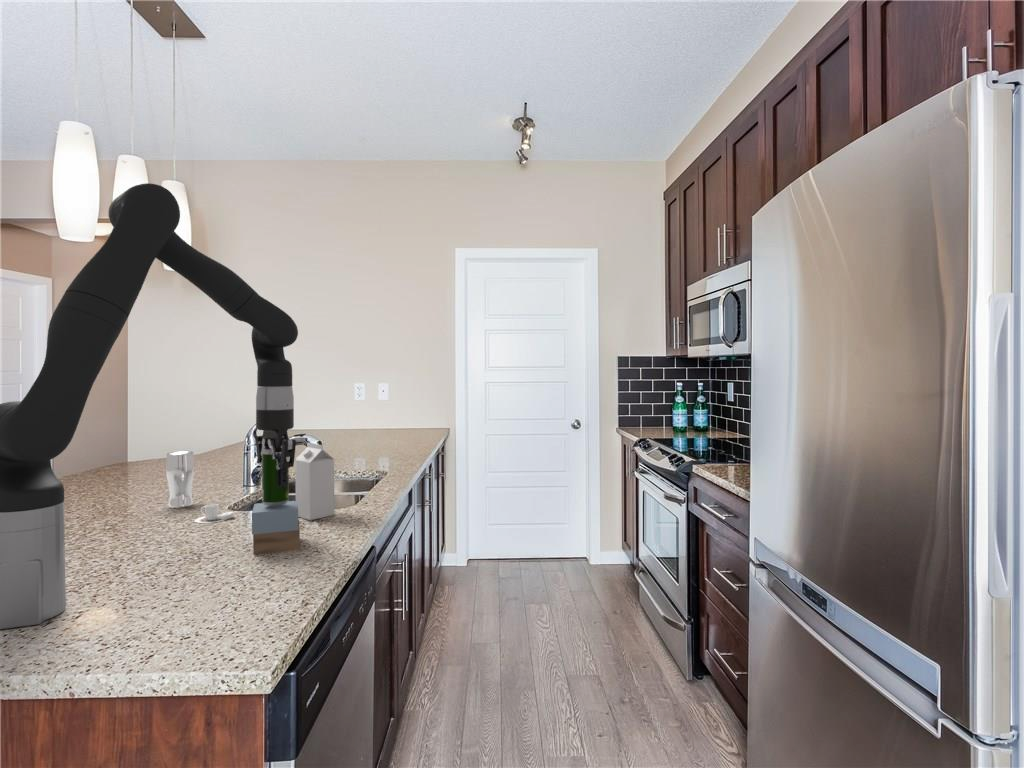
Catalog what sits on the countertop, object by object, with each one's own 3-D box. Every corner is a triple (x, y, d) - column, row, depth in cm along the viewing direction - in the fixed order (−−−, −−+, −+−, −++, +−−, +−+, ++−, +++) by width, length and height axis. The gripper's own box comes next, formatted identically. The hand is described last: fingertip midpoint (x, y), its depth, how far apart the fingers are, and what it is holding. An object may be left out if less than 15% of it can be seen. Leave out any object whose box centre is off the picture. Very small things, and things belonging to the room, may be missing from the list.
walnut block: (299, 551, 119) (299, 530, 119) (253, 556, 116) (253, 534, 116) (299, 539, 128) (298, 519, 128) (255, 543, 124) (255, 523, 124)
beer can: (264, 507, 118) (264, 450, 118) (259, 502, 122) (259, 447, 122) (291, 504, 121) (291, 448, 121) (285, 499, 125) (285, 445, 125)
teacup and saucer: (239, 518, 147) (239, 502, 147) (215, 526, 139) (215, 509, 139) (211, 515, 149) (211, 500, 149) (187, 523, 141) (186, 507, 141)
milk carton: (319, 511, 153) (319, 441, 152) (334, 515, 148) (334, 443, 148) (295, 516, 147) (295, 444, 147) (310, 521, 143) (309, 446, 142)
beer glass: (170, 503, 161) (169, 451, 161) (197, 502, 163) (196, 450, 163) (163, 509, 154) (162, 455, 154) (191, 507, 156) (190, 454, 156)
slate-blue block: (298, 530, 119) (298, 509, 119) (251, 534, 116) (251, 512, 116) (298, 520, 128) (297, 500, 127) (254, 523, 124) (254, 503, 124)
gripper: (308, 408, 119) (308, 487, 120) (276, 405, 129) (276, 478, 129) (273, 409, 114) (273, 492, 114) (243, 406, 123) (243, 483, 123)
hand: (275, 484), depth 122 cm, fingers closed on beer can, 5 cm apart
